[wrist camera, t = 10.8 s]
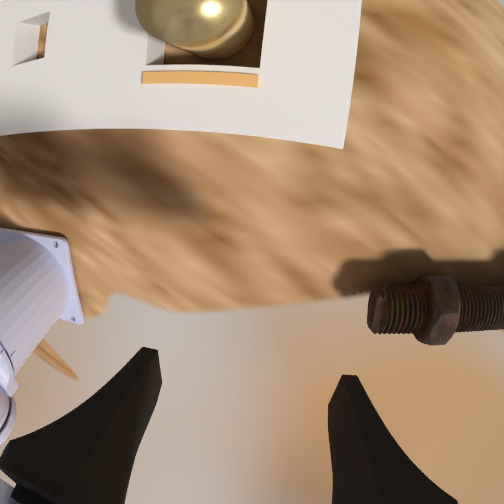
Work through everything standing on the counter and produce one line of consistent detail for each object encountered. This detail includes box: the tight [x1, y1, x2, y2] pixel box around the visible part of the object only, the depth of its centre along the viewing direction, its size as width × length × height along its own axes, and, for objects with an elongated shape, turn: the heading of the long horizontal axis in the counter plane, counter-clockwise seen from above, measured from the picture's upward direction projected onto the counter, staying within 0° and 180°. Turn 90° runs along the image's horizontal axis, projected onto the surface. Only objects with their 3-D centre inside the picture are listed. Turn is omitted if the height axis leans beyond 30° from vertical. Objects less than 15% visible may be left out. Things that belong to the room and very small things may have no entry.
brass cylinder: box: [135, 0, 254, 59], centre depth 11 cm, size 4×4×6 cm
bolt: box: [367, 275, 504, 345], centre depth 18 cm, size 6×5×15 cm
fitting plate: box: [0, 0, 362, 149], centre depth 13 cm, size 24×12×3 cm, turn 84°
